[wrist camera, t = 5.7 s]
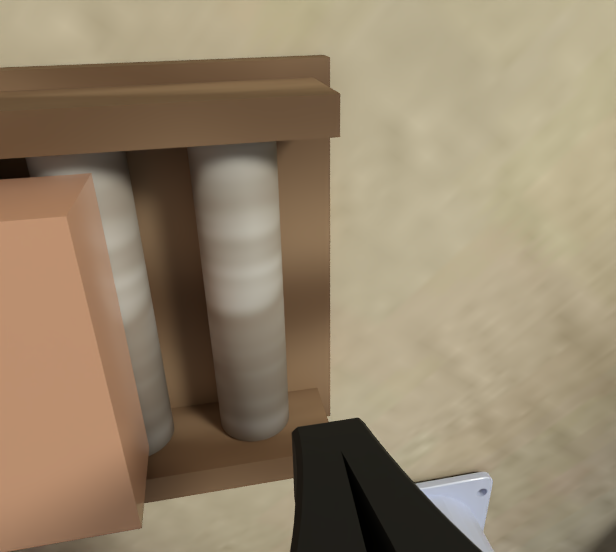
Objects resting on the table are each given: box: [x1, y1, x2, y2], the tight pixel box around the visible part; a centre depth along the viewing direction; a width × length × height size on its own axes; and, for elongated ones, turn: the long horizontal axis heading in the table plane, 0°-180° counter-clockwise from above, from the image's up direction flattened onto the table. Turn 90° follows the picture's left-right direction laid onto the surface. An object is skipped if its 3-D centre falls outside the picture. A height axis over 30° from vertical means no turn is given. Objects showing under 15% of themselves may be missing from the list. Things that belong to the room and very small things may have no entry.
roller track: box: [0, 55, 340, 503], centre depth 14 cm, size 13×18×7 cm
